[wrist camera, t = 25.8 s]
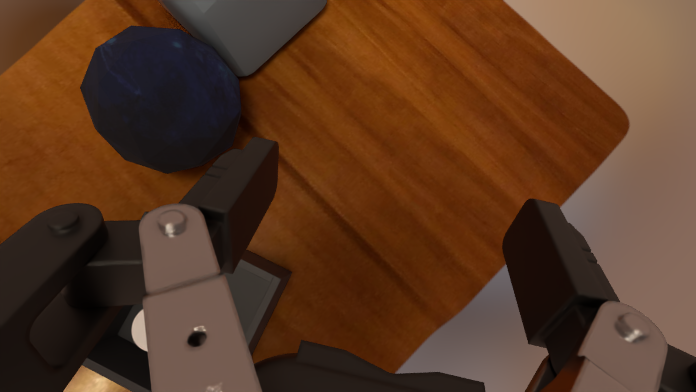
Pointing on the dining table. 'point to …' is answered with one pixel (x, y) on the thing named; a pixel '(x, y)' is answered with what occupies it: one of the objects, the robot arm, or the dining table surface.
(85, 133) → the dining table surface
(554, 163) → the dining table surface
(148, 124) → the decorative orb
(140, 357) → the bin
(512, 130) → the dining table surface
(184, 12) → the grey rounded cube box
